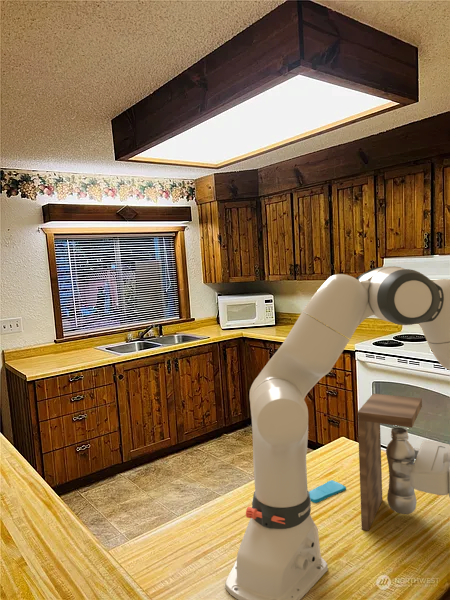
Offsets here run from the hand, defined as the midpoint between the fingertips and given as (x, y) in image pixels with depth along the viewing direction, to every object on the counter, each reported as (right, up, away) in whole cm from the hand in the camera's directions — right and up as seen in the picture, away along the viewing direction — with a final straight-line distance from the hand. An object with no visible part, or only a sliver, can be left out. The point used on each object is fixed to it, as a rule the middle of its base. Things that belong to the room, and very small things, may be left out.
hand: (396, 458), depth 108 cm
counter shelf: (-1, -14, 0) cm, 14 cm away
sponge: (-14, -14, +14) cm, 25 cm away
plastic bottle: (+2, -13, +1) cm, 13 cm away
